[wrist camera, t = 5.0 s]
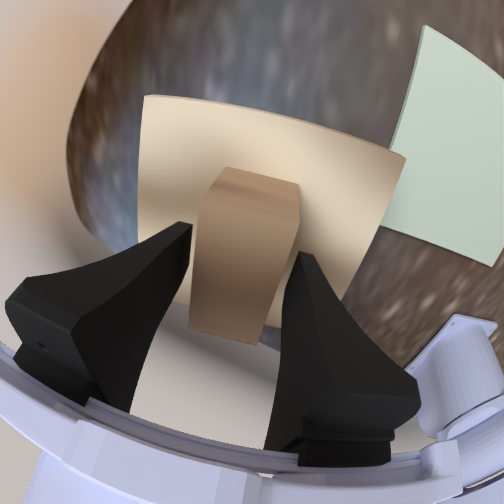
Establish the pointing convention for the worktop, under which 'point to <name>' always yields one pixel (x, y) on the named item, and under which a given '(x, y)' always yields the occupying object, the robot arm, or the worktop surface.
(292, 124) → the lid
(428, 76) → the mat
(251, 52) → the worktop surface
